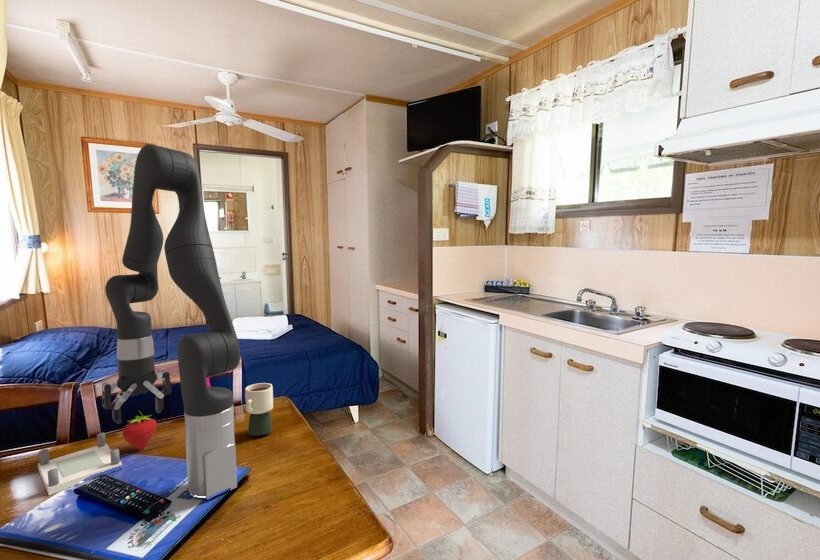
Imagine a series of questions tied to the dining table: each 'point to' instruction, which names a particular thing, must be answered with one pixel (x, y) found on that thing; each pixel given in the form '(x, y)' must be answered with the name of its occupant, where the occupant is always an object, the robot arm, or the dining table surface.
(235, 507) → the dining table surface
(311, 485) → the dining table surface
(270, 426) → the character mug
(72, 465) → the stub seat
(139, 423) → the strawberry
